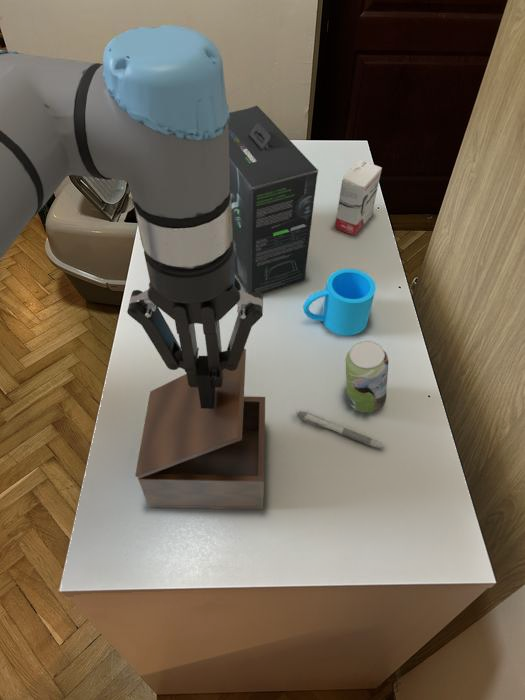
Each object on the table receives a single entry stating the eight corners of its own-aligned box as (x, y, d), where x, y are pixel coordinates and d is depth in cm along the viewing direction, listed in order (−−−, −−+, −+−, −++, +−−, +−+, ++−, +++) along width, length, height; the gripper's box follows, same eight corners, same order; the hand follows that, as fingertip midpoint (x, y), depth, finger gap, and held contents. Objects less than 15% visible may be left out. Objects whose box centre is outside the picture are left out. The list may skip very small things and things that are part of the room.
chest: (264, 429, 80) (265, 396, 73) (263, 509, 72) (264, 481, 66) (161, 427, 80) (152, 394, 73) (148, 507, 72) (137, 479, 66)
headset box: (307, 281, 101) (321, 157, 80) (250, 300, 97) (249, 176, 77) (256, 214, 113) (257, 92, 93) (204, 229, 110) (193, 106, 90)
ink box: (354, 237, 109) (364, 187, 100) (333, 228, 111) (341, 178, 101) (372, 215, 114) (383, 166, 104) (352, 207, 115) (361, 158, 106)
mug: (360, 299, 98) (367, 266, 91) (373, 332, 93) (382, 300, 86) (296, 306, 96) (299, 273, 90) (306, 340, 91) (310, 308, 85)
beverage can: (389, 413, 82) (406, 366, 73) (343, 419, 82) (354, 373, 72) (377, 380, 86) (392, 332, 77) (333, 386, 85) (342, 338, 76)
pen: (297, 412, 82) (297, 407, 81) (383, 447, 79) (385, 442, 78) (294, 417, 82) (295, 412, 81) (381, 453, 78) (383, 448, 77)
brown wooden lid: (246, 349, 65) (242, 346, 65) (242, 439, 57) (237, 436, 57) (154, 393, 73) (150, 391, 73) (139, 478, 65) (134, 476, 65)
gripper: (266, 215, 47) (263, 374, 65) (118, 212, 47) (157, 372, 65) (265, 273, 42) (262, 427, 60) (100, 271, 42) (148, 425, 60)
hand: (208, 398), depth 63 cm, fingers closed
